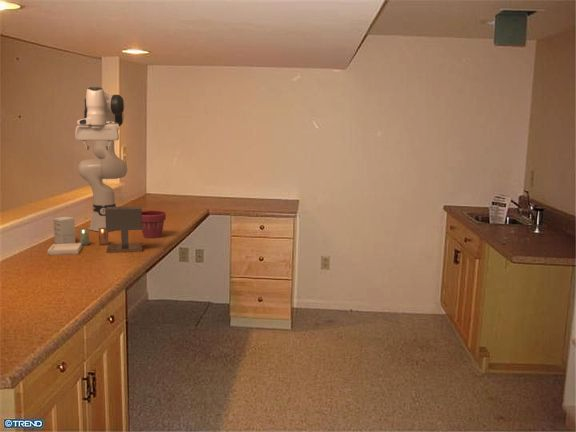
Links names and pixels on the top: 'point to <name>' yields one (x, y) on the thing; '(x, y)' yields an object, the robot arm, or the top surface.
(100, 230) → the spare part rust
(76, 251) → the tray
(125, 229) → the mounted unit
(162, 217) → the plant pot
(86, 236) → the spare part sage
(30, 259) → the top surface
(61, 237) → the supplement box
